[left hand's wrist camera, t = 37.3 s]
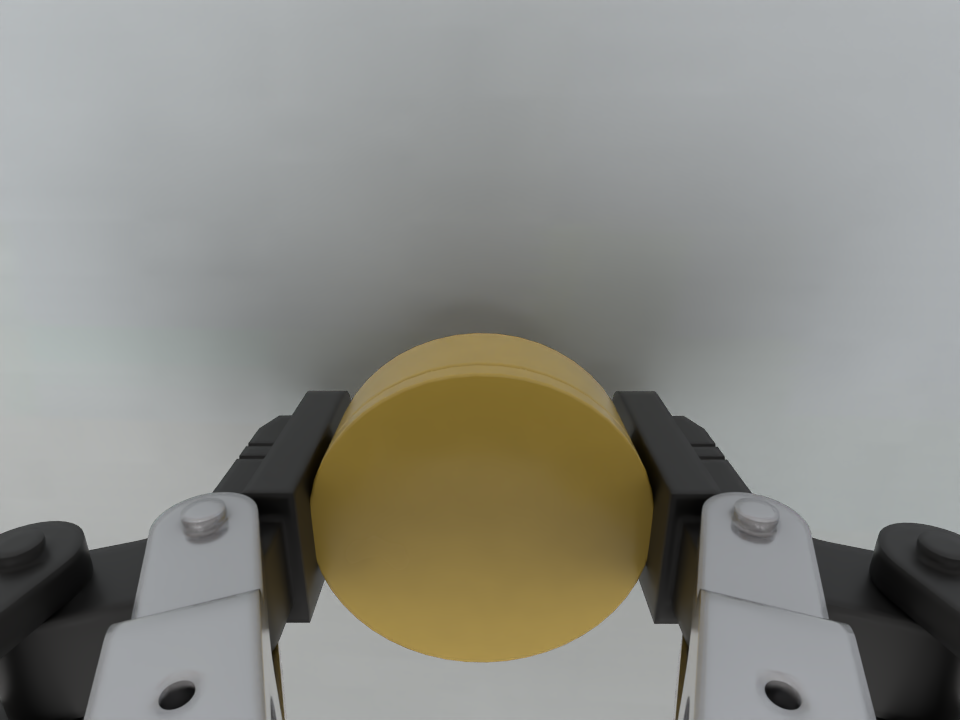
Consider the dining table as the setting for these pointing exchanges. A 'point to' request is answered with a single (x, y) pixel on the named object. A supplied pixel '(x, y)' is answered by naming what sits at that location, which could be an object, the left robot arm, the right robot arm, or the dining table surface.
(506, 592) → the lid
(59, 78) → the dining table surface
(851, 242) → the dining table surface
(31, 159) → the dining table surface
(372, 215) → the dining table surface
